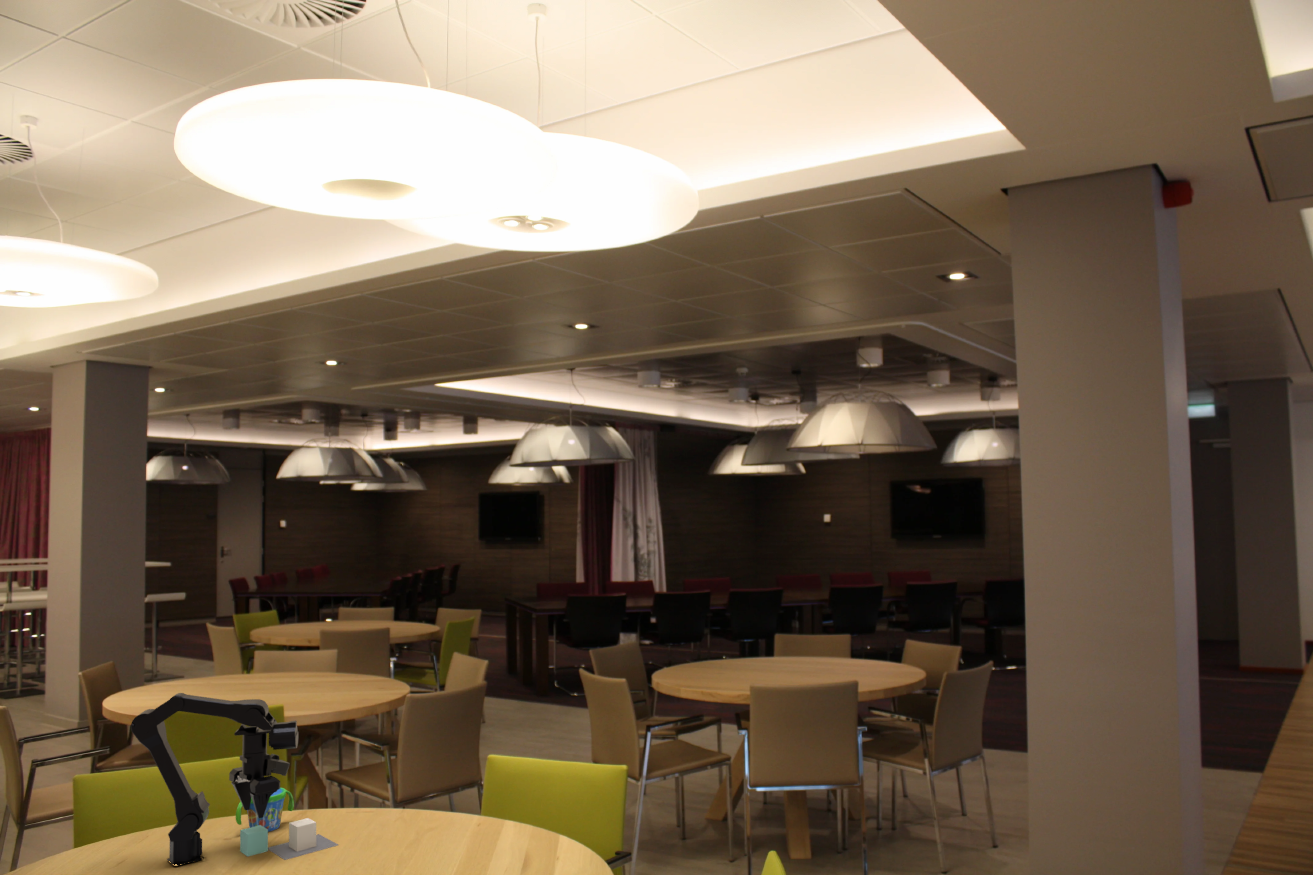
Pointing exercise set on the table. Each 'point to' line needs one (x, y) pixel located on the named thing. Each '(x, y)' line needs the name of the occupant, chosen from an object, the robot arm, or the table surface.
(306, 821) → the white block
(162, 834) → the table surface
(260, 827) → the teal block
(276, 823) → the snack cup
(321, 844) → the mat
